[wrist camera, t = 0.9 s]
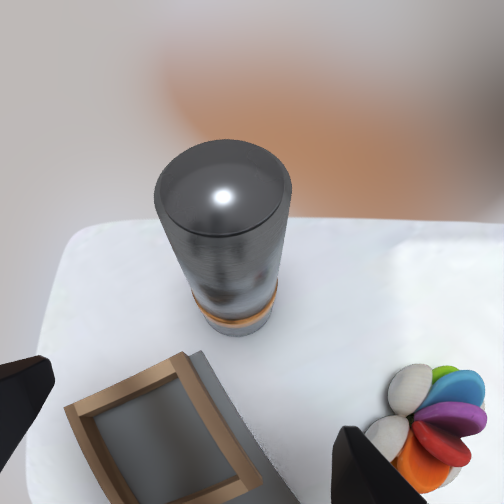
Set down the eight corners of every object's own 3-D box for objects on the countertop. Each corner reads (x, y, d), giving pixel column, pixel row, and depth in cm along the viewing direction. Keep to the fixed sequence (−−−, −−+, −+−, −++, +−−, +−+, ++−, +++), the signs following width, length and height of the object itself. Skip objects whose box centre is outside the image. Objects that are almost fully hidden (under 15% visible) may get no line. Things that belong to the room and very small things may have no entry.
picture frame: (178, 568, 12) (171, 582, 10) (80, 409, 18) (63, 407, 16) (310, 517, 15) (317, 528, 12) (202, 351, 21) (195, 344, 19)
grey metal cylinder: (222, 350, 21) (183, 272, 9) (189, 290, 23) (132, 166, 11) (287, 314, 22) (325, 201, 10) (249, 258, 24) (248, 119, 13)
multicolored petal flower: (339, 465, 17) (377, 487, 10) (398, 351, 21) (450, 325, 14) (423, 495, 15) (477, 513, 8) (471, 390, 18) (530, 375, 12)
